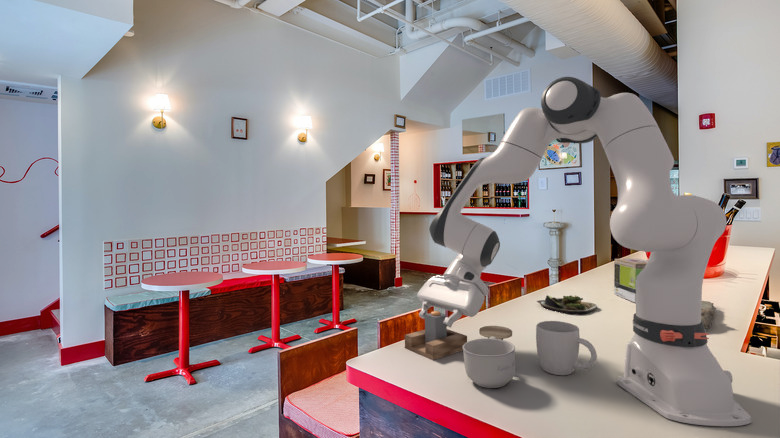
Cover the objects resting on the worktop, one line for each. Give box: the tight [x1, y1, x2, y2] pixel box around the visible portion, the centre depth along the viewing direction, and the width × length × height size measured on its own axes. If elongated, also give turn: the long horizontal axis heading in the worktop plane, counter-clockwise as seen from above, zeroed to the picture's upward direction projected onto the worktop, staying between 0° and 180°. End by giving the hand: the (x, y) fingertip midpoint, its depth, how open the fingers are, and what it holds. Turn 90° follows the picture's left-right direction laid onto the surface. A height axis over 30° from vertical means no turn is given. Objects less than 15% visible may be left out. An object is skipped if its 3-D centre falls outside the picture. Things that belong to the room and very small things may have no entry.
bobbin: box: [478, 325, 513, 340], centre depth 105 cm, size 8×8×6 cm
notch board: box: [404, 328, 468, 361], centre depth 109 cm, size 12×11×4 cm
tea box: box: [613, 258, 648, 304], centre depth 159 cm, size 15×10×15 cm
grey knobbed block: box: [424, 310, 448, 343], centre depth 109 cm, size 4×4×9 cm
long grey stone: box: [701, 300, 717, 330], centre depth 132 cm, size 35×5×10 cm
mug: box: [535, 320, 598, 376], centre depth 93 cm, size 13×9×10 cm
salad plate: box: [536, 294, 598, 315], centre depth 149 cm, size 19×18×5 cm
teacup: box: [462, 336, 516, 389], centre depth 90 cm, size 14×11×8 cm
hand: (433, 321), depth 109 cm, fingers open, 8 cm apart
